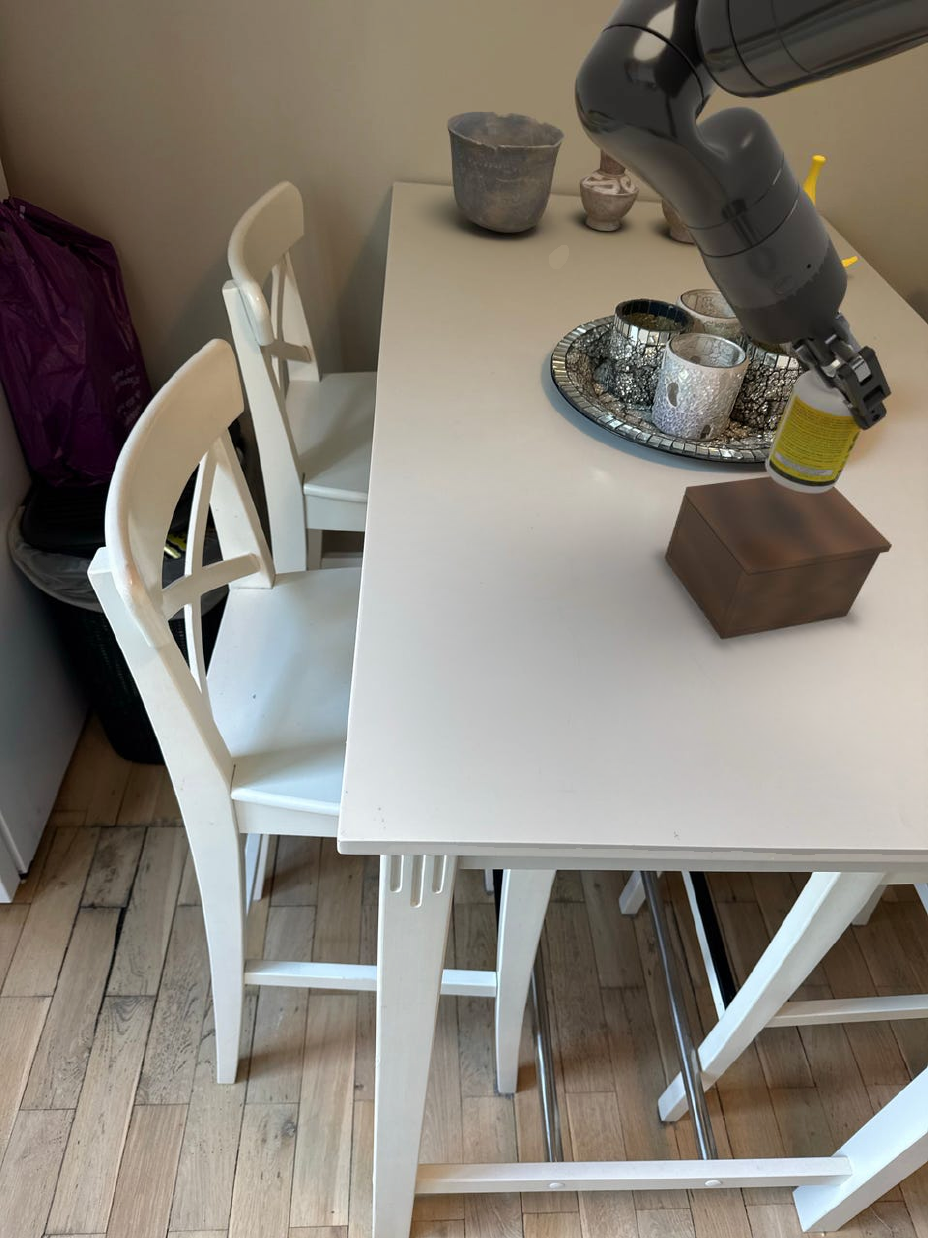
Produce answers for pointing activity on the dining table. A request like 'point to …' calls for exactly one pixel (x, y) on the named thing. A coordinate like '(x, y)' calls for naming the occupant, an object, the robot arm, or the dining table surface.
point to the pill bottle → (812, 437)
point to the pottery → (618, 199)
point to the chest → (758, 582)
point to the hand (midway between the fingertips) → (847, 397)
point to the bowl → (502, 168)
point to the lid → (784, 524)
